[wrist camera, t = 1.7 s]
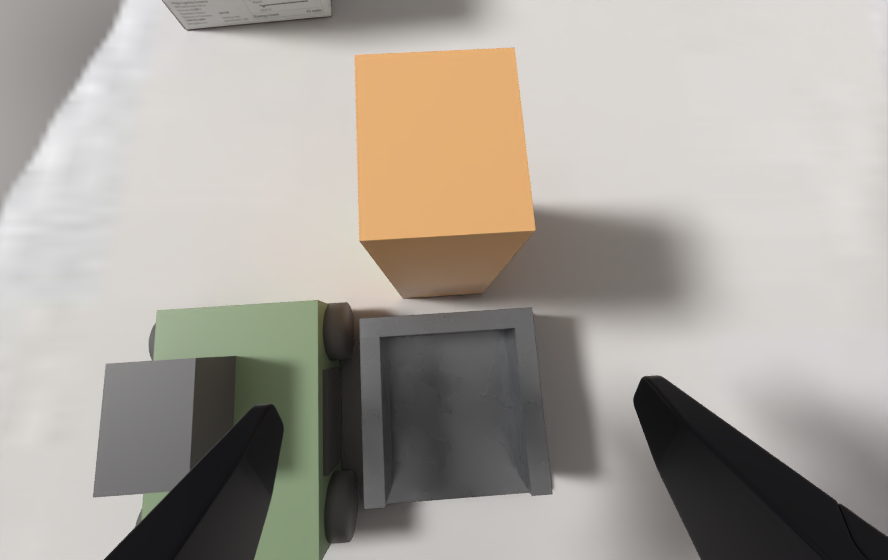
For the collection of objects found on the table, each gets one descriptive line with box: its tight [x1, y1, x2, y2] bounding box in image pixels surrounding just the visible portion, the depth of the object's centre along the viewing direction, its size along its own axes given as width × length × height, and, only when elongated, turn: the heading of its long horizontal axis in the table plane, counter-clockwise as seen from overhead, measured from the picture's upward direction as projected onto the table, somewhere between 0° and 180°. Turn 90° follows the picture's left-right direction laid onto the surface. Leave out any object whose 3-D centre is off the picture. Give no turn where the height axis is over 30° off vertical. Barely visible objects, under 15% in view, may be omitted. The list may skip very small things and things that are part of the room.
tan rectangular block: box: [355, 48, 536, 298], centre depth 17 cm, size 6×5×12 cm
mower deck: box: [93, 300, 358, 560], centre depth 18 cm, size 12×10×7 cm
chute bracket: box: [359, 307, 552, 509], centre depth 20 cm, size 10×10×4 cm
